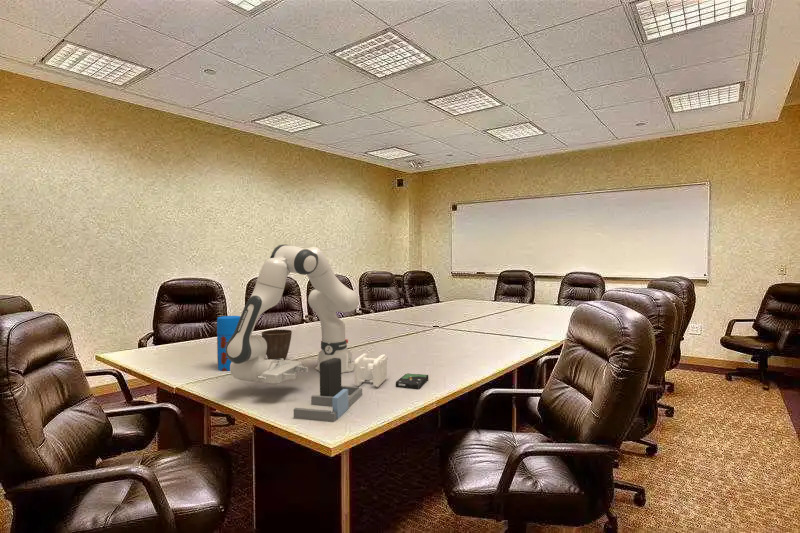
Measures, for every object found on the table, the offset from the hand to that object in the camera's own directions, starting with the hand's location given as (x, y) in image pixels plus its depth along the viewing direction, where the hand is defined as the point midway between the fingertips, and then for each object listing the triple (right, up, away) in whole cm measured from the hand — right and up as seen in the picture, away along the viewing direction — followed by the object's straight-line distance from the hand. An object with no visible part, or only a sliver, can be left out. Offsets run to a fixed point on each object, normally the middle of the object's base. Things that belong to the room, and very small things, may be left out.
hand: (301, 373), depth 167 cm
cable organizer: (+26, -9, +17) cm, 32 cm away
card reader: (+12, -9, -3) cm, 15 cm away
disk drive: (+43, -9, +17) cm, 47 cm away
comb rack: (+12, -9, -10) cm, 18 cm away
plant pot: (-25, -8, +54) cm, 60 cm away
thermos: (-45, -9, +43) cm, 63 cm away
